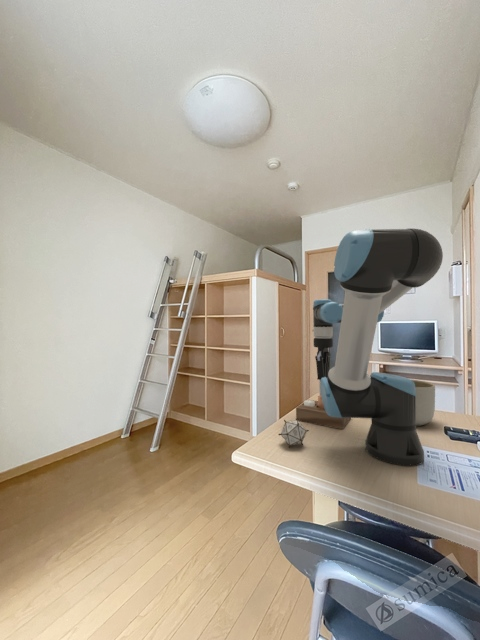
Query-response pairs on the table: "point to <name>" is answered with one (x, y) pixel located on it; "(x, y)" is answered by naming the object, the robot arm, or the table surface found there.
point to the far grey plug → (309, 403)
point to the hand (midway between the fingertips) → (323, 395)
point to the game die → (293, 432)
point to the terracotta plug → (320, 402)
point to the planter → (424, 402)
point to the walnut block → (319, 416)
